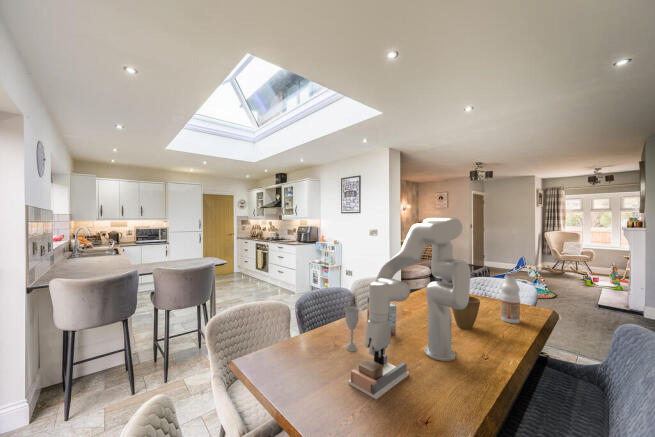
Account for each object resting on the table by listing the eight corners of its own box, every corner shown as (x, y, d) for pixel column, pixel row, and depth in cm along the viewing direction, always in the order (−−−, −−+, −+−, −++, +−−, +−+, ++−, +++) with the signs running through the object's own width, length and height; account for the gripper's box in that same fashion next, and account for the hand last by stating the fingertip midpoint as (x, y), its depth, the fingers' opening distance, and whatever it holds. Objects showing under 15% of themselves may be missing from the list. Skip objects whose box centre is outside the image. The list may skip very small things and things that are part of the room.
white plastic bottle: (498, 320, 163) (499, 273, 163) (503, 317, 170) (503, 271, 170) (517, 325, 156) (517, 275, 157) (521, 321, 163) (521, 273, 163)
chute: (382, 362, 113) (382, 350, 113) (408, 374, 104) (409, 361, 104) (348, 383, 98) (348, 369, 98) (376, 399, 90) (376, 383, 90)
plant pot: (477, 334, 142) (477, 303, 142) (447, 327, 151) (447, 298, 151) (482, 326, 154) (482, 297, 154) (453, 320, 163) (453, 293, 163)
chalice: (341, 346, 127) (341, 307, 128) (354, 344, 130) (355, 305, 130) (348, 353, 121) (348, 312, 121) (362, 350, 123) (362, 310, 123)
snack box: (396, 335, 141) (396, 305, 141) (387, 336, 139) (387, 306, 139) (374, 321, 161) (375, 295, 161) (366, 322, 159) (366, 296, 159)
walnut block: (368, 375, 102) (369, 359, 102) (382, 382, 97) (382, 365, 97) (358, 381, 97) (358, 364, 97) (372, 389, 93) (372, 371, 93)
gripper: (382, 309, 109) (382, 355, 109) (358, 318, 99) (357, 369, 98) (399, 314, 104) (398, 363, 103) (375, 324, 93) (375, 378, 93)
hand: (378, 366), depth 101 cm, fingers closed
